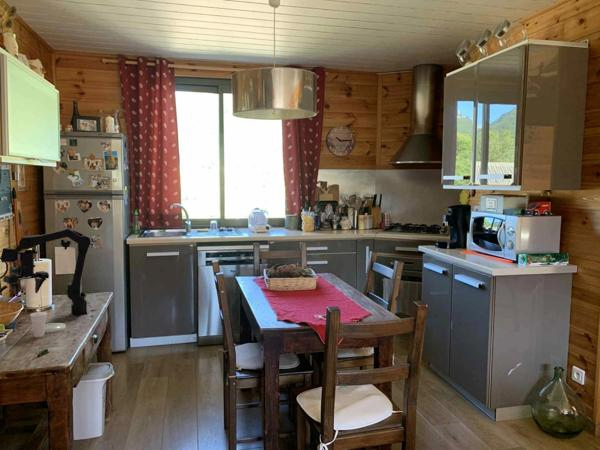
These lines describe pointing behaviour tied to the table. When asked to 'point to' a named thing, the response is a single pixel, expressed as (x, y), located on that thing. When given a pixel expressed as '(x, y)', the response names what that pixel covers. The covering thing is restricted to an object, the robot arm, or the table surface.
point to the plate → (54, 327)
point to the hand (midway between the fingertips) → (26, 294)
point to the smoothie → (38, 323)
